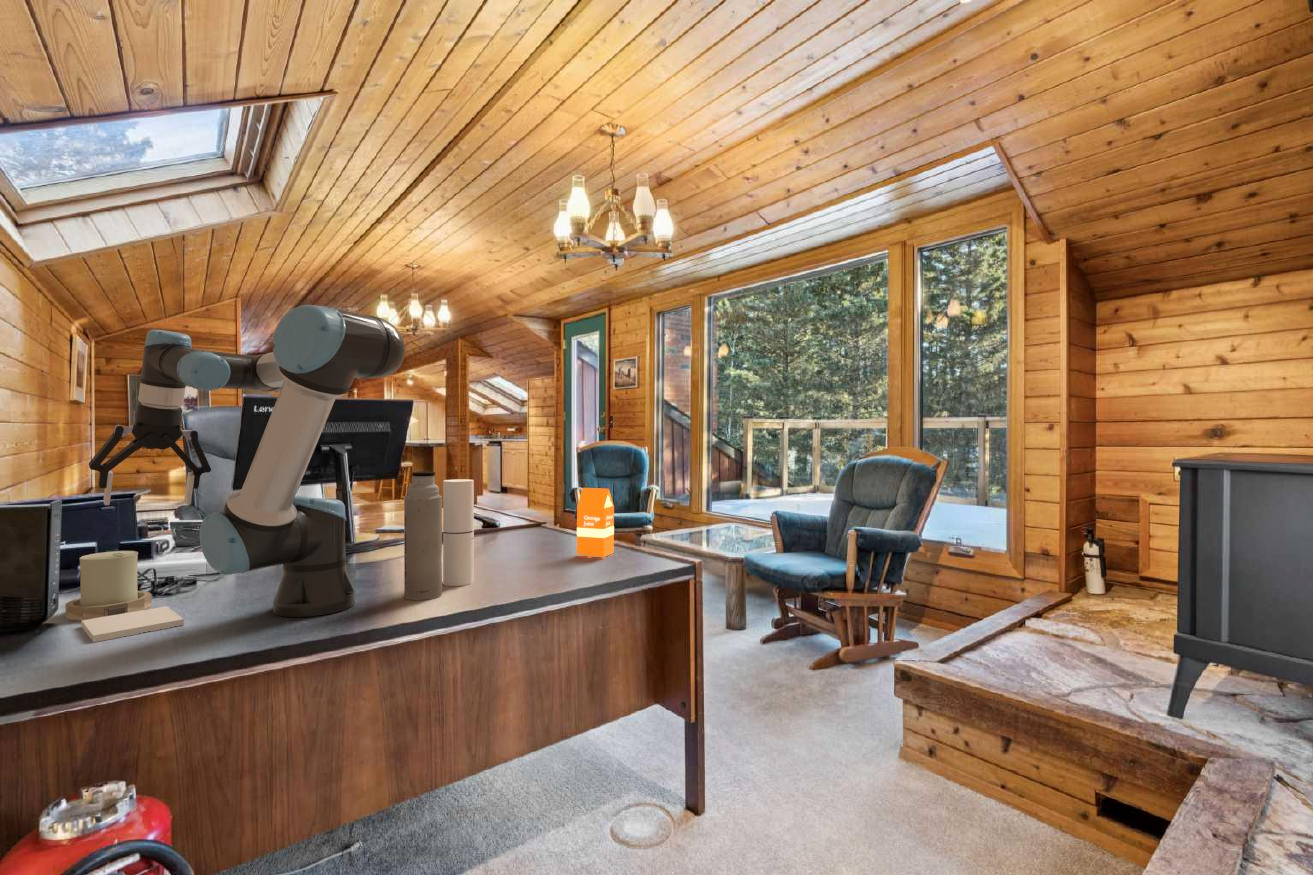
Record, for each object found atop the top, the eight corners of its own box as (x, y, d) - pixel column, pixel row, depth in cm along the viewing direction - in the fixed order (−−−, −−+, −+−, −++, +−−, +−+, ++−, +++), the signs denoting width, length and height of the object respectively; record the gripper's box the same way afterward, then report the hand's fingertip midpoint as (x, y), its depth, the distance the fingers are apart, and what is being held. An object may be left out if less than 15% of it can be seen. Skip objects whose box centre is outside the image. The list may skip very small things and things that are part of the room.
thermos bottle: (399, 600, 140) (399, 472, 139) (410, 591, 148) (410, 470, 147) (436, 600, 141) (436, 472, 140) (445, 590, 148) (445, 470, 148)
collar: (158, 611, 131) (158, 599, 131) (72, 626, 121) (72, 612, 121) (141, 597, 141) (141, 586, 141) (61, 610, 131) (61, 598, 131)
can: (104, 619, 125) (103, 558, 125) (67, 616, 127) (66, 556, 127) (150, 606, 134) (149, 549, 134) (114, 603, 136) (114, 547, 136)
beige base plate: (183, 625, 122) (183, 618, 122) (93, 642, 112) (93, 635, 112) (166, 612, 130) (166, 606, 130) (81, 626, 120) (81, 620, 120)
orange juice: (587, 551, 196) (587, 486, 196) (614, 553, 193) (614, 487, 193) (576, 556, 189) (576, 488, 189) (603, 558, 186) (604, 490, 186)
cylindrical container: (436, 584, 155) (436, 481, 154) (456, 577, 161) (456, 478, 161) (460, 587, 152) (460, 482, 151) (479, 580, 158) (479, 479, 158)
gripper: (226, 407, 145) (214, 497, 147) (79, 395, 127) (67, 497, 129) (234, 414, 140) (221, 507, 142) (82, 401, 122) (70, 508, 124)
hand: (148, 503), depth 136 cm, fingers open, 13 cm apart
